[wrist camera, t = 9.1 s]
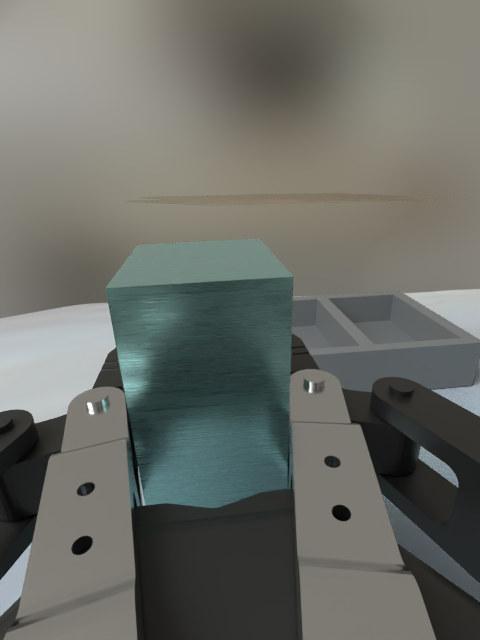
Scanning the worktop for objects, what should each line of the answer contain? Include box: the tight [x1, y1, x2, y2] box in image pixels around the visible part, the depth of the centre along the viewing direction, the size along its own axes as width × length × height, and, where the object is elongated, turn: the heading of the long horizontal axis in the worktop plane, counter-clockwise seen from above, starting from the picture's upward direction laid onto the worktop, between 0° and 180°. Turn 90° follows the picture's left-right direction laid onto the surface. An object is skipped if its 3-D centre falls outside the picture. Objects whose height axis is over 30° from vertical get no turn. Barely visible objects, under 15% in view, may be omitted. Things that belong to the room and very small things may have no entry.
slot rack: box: [292, 291, 480, 392], centre depth 28 cm, size 22×11×4 cm, turn 96°
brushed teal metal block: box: [106, 239, 293, 508], centre depth 11 cm, size 4×4×10 cm
